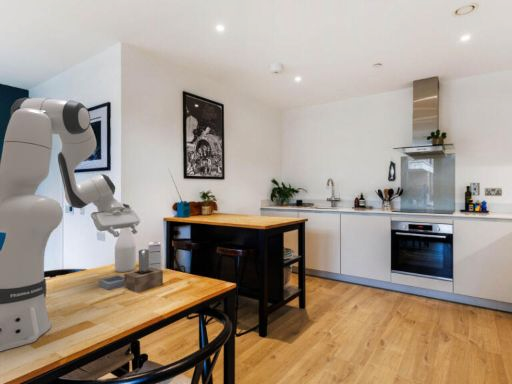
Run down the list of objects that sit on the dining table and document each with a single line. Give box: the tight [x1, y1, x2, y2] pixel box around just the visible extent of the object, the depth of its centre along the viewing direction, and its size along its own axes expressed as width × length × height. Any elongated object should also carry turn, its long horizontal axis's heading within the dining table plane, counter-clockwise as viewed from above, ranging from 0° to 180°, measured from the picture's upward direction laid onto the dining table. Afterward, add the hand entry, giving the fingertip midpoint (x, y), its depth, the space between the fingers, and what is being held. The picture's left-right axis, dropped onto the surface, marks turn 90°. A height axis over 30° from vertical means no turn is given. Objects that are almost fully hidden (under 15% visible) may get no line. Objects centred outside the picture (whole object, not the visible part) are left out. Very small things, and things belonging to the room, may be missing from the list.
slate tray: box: [97, 274, 124, 291], centre depth 126 cm, size 9×9×2 cm
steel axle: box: [138, 248, 149, 275], centre depth 124 cm, size 4×4×15 cm
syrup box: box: [147, 241, 162, 270], centre depth 145 cm, size 6×6×14 cm
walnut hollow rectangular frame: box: [123, 267, 164, 293], centre depth 124 cm, size 12×9×6 cm
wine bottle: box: [114, 227, 137, 273], centre depth 149 cm, size 10×10×30 cm
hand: (126, 234), depth 129 cm, fingers open, 8 cm apart
